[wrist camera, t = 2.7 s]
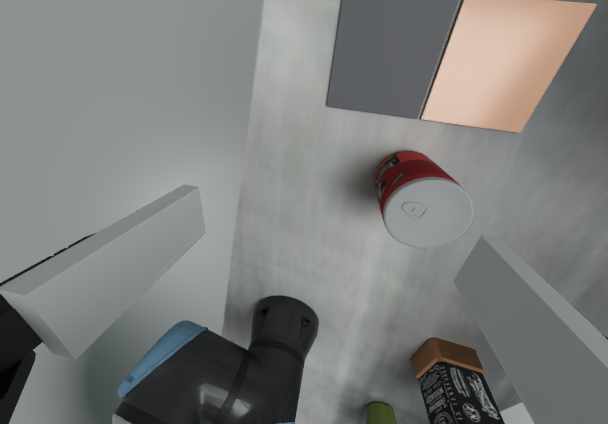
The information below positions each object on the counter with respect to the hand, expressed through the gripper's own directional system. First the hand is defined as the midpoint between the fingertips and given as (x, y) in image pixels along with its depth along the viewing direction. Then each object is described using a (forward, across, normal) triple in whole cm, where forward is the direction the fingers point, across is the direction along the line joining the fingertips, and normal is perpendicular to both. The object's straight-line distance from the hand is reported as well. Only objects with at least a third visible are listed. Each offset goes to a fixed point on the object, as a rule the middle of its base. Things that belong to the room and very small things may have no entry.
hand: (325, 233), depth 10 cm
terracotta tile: (+22, -15, -10) cm, 28 cm away
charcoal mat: (+22, -3, -10) cm, 24 cm away
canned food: (+22, -10, +3) cm, 24 cm away
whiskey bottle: (+23, -30, +42) cm, 56 cm away
